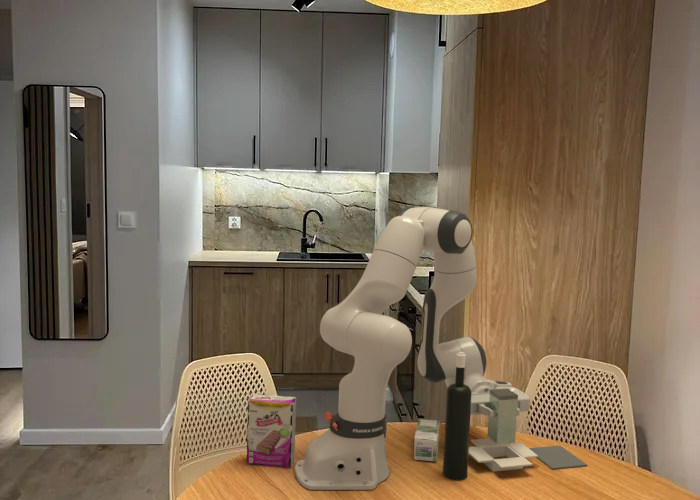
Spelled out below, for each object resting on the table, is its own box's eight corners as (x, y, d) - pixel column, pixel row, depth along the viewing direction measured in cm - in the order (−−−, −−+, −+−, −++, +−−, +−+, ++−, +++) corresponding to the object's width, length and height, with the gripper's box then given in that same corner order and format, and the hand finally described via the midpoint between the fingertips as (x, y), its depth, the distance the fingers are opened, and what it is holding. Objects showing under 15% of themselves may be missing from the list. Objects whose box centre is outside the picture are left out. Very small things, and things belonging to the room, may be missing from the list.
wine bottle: (438, 471, 156) (444, 350, 153) (459, 468, 158) (465, 348, 155) (450, 482, 151) (456, 356, 147) (471, 478, 152) (478, 354, 149)
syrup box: (417, 438, 176) (413, 461, 161) (418, 417, 175) (414, 438, 161) (439, 440, 175) (436, 463, 160) (439, 419, 174) (437, 440, 160)
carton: (485, 480, 152) (485, 468, 151) (456, 452, 167) (457, 441, 167) (546, 474, 156) (547, 462, 156) (512, 447, 172) (513, 436, 171)
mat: (552, 469, 159) (552, 468, 159) (526, 449, 170) (526, 448, 170) (587, 466, 161) (587, 464, 161) (560, 446, 173) (560, 445, 173)
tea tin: (496, 443, 158) (499, 396, 157) (487, 435, 163) (489, 389, 161) (515, 442, 159) (518, 395, 158) (505, 434, 164) (507, 388, 163)
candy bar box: (245, 465, 156) (246, 399, 154) (251, 456, 161) (252, 393, 159) (291, 469, 155) (292, 402, 153) (295, 460, 160) (296, 395, 158)
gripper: (444, 385, 169) (467, 403, 156) (514, 381, 174) (542, 399, 161) (443, 409, 170) (466, 428, 156) (513, 404, 175) (540, 423, 162)
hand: (505, 413), depth 159 cm, fingers closed on tea tin, 5 cm apart
